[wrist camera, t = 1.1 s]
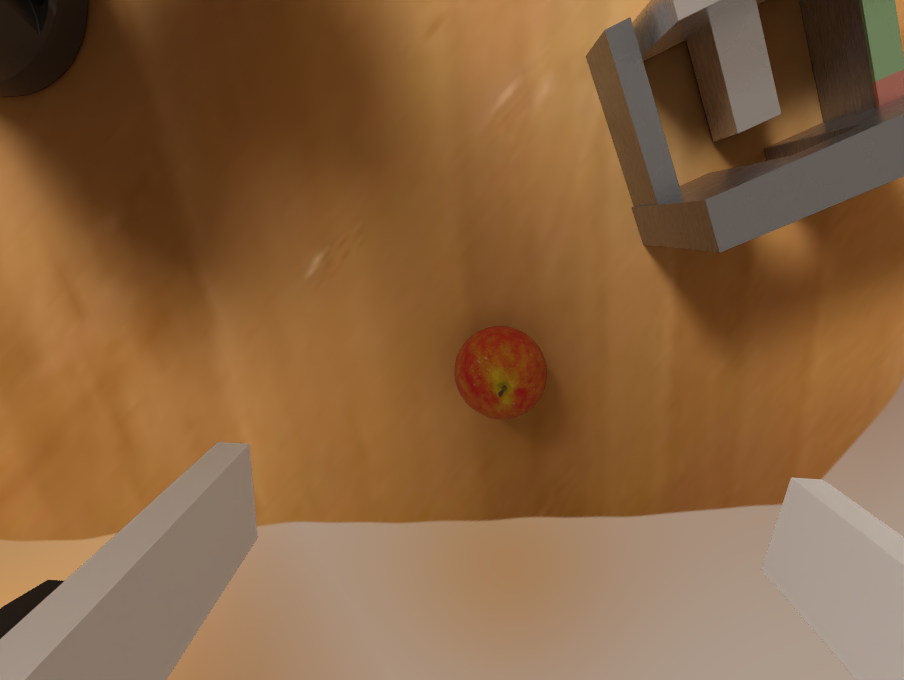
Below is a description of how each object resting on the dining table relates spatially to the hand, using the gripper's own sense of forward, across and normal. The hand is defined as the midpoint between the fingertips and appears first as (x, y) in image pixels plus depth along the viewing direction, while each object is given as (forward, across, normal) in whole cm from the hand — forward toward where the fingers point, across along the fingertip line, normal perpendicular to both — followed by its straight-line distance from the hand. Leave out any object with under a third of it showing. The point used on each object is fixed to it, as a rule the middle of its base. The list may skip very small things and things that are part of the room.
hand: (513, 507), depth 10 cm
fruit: (+25, +2, -4) cm, 25 cm away
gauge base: (+25, +16, +17) cm, 34 cm away
